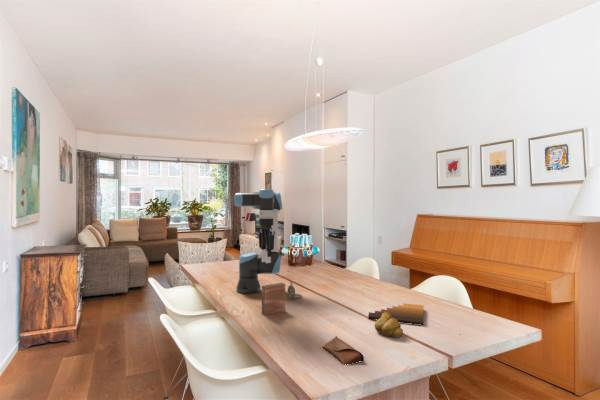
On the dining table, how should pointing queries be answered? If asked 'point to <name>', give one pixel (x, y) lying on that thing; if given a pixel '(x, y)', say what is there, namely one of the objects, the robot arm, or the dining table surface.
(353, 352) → the sunglasses case
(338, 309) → the dining table surface
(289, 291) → the pocket watch
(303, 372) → the dining table surface
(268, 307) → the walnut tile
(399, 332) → the bread roll
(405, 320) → the pan flute
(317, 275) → the dining table surface
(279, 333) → the dining table surface
